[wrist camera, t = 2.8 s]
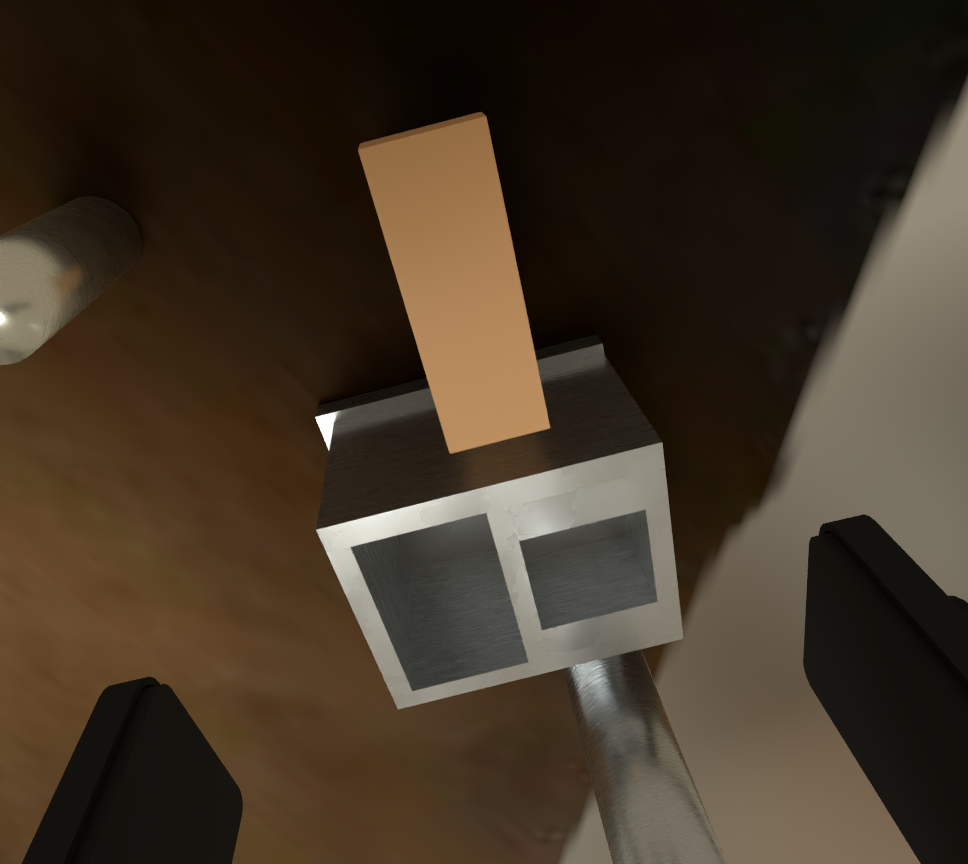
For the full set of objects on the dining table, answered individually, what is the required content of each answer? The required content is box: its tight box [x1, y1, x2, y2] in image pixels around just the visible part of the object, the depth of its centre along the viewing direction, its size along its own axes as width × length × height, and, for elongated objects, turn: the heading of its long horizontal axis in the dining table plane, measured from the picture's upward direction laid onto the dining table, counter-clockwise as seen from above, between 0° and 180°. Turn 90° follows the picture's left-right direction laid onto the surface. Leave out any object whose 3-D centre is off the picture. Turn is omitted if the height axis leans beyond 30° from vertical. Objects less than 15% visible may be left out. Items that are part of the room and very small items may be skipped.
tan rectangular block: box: [358, 112, 550, 454], centre depth 22 cm, size 9×3×8 cm, turn 13°
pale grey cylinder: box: [0, 196, 142, 365], centre depth 21 cm, size 3×3×8 cm
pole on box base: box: [315, 334, 727, 864], centre depth 24 cm, size 15×12×20 cm
